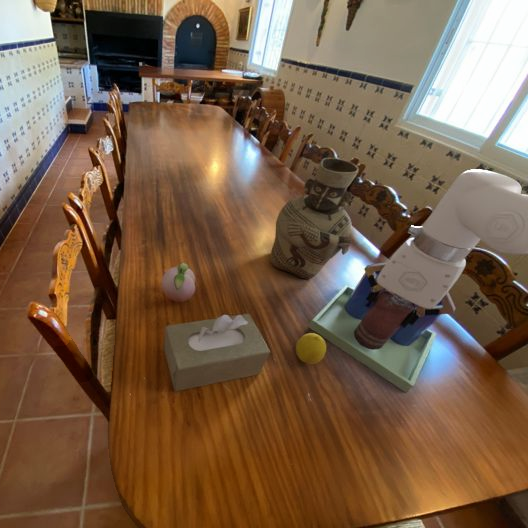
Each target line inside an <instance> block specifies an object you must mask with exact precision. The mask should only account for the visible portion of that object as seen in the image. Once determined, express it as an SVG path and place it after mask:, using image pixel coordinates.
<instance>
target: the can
mask: <svg viewBox="0 0 528 528" xmlns="http://www.w3.org/2000/svg"><path fill="white" fill-rule="evenodd" d="M374 302H375V303H374V304H373V305H372V307H371V308H370V309H369V311H368V312H367V314H366V315H365V316H364V318H363V319H362V321H361V322H360V323H359V325H358V326H357V328H356V329H355V330H354V336H355V339H356V340H357V342H358V343H359V344H360V345H362V346H364V347H365V348H368V349H372V350H376V349H380V348H382V347H383V345H384V344H385V343H386V342H387V341H388V340H389V339H390V337H391V336H392V335H393V334H394V333H395V332H396V330H397V329H398V328H399V327H400V326H401V325H402V323H403V322H404V321H405V320H406V319H407V318H408V316H409V315H410V314H411V313H412V312H413V311H414V309H415V305H416V304H414V303H412V302H410V301H408V300H406V299H404V298H402V297H400V296H398V295H397V294H395V293H393V292H391V291H389V290H387V289H386V290H382V291H381V292H380V293H379V295H378V296H377V297H376V299H375V301H374Z"/></svg>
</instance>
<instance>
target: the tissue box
mask: <svg viewBox="0 0 528 528" xmlns="http://www.w3.org/2000/svg"><path fill="white" fill-rule="evenodd" d="M163 351H164V354H165V359H166V363H167V367H168V372H169V375H170V379H171V383H172V388H173V391H174V392H178V391H179V392H180V391H184V390H189V389H194V388H199V387H204V386H209V385H213V384H214V385H215V384H219V383H223V382H228V381H233V380H238V379H244V378H247V377H253V376H258V375H261V373H262V371H263V368H264V366H265V364H266V362H267V360H268V357H269V355H270V353H271V350H270V349H269V347H268V344H267V343H266V341H265V339H264V338H263V336H262V334H261V332H260V329H258V327H257V325H256V322H255V321H254V319H253V317H252V315H251V314H250V313H242V314H237V315H231V316H230V315H228V314H223V315H221V316H219V317H217V318H210V319H203V320H196V321H191V322H183V323H176V324H170V325H166V326H165V333H164V346H163Z"/></svg>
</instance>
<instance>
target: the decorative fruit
mask: <svg viewBox="0 0 528 528" xmlns="http://www.w3.org/2000/svg"><path fill="white" fill-rule="evenodd" d="M195 283H196V276H195V274H194V272H193V270H192V269H190V268H189V265H188V264H187V263H186V262H183V263H180V264H178V266H174V267H171V268H169V269H167V270H166V271H165V272H164V274H163V276H162V279H161V289H162V291H163V293H164V295H165V296H166V297H167V298H168V299H169V300H171V301H173V302H174V303H175V302H176V303H183V302H186V301H188V300H190V299H191V298H192V297H193V295H194V294H195V291H196V284H195Z"/></svg>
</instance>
